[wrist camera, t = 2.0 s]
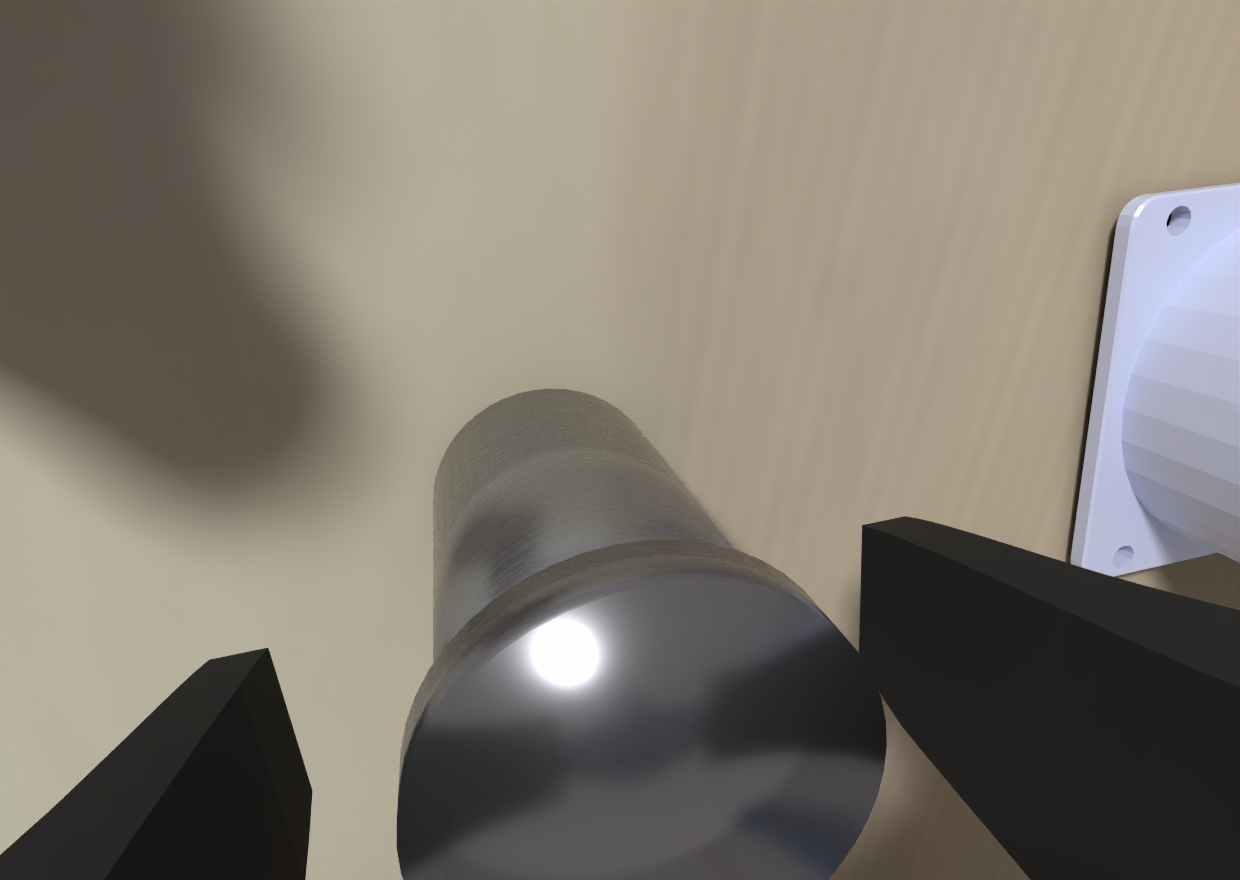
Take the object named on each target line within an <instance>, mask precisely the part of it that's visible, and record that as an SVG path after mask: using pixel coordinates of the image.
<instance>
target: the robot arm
mask: <svg viewBox="0 0 1240 880" xmlns="http://www.w3.org/2000/svg"><path fill="white" fill-rule="evenodd" d="M1170 213H1171V216H1172V218H1171V221H1170V224H1169V226H1168V227H1167V220H1168V217H1169V214H1170ZM1214 553H1220V554H1222V555H1224V556H1227V557H1229V558H1231V559H1233V560H1235V561H1237V562H1239V563H1240V183H1232V184H1224V185H1216V186H1208V187H1200V188H1192V189H1184V190H1176V191H1168V192H1160V193H1152V194H1144V195H1141V196H1138V197H1135V198H1134V199H1132V200H1131V201H1130V202H1129V203H1128V204H1126V206H1125V207H1124V209H1123V210H1122V212H1121V213H1120V215H1119V218H1118V222H1117V225H1116V232H1115V239H1114V246H1113V254H1112V261H1111V268H1110V276H1109V283H1108V290H1107V297H1106V305H1105V312H1104V319H1103V326H1102V334H1101V341H1100V348H1099V356H1098V363H1097V370H1096V377H1095V385H1094V392H1093V399H1092V406H1091V414H1090V421H1089V428H1088V435H1087V443H1086V450H1085V457H1084V465H1083V472H1082V479H1081V486H1080V494H1079V501H1078V508H1077V515H1076V523H1075V530H1074V537H1073V545H1072V552H1071V564H1069V563H1066V562H1063V561H1059V560H1056V559H1053V558H1050V557H1046V556H1043V555H1040V554H1037V553H1034V552H1030V551H1027V550H1024V549H1021V548H1018V547H1014V546H1011V545H1008V544H1005V543H1002V542H998V541H995V540H992V539H989V538H986V537H982V536H979V535H976V534H973V533H969V532H966V531H962V530H959V529H956V528H952V527H949V526H945V525H941V524H938V523H934V522H930V521H926V520H921V519H916V518H911V517H906V516H905V517H900V518H895V519H890V520H885V521H881V522H876V523H871V524H866V525H862V558H861V598H860V638H859V654H860V655H861V657H862V659H863V660H864V662H865V664H866V665H867V667H868V669H869V670H870V672H871V674H872V675H873V678H874V681H875V683H876V686H877V689H878V690H879V692H880V694H881V695H882V697H883V698H884V700H885V701H886V703H887V704H888V706H889V707H890V709H891V710H892V712H893V713H894V715H895V716H896V718H897V719H898V721H899V722H900V724H901V725H902V727H903V728H904V729H905V730H906V732H907V733H908V734H909V735H910V737H911V738H912V739H913V740H914V742H915V743H916V744H917V745H918V746H919V748H920V749H921V750H922V751H923V752H924V754H925V755H926V756H927V757H928V758H929V760H930V761H931V762H932V763H933V764H934V766H935V767H936V768H937V769H938V770H939V772H940V773H941V774H942V775H943V776H944V778H945V779H946V780H947V781H948V782H949V784H950V785H951V786H952V787H953V788H954V790H955V791H956V792H957V793H958V794H959V795H960V797H961V798H962V799H963V800H964V801H965V803H966V804H967V805H968V806H969V807H970V808H971V810H972V811H973V812H974V813H975V814H976V815H977V817H978V818H979V819H980V820H981V821H982V823H983V824H984V825H985V826H986V827H987V829H988V830H989V831H990V832H991V833H992V834H993V836H994V837H995V838H996V839H997V840H998V842H999V843H1000V844H1001V845H1002V846H1003V847H1004V849H1005V850H1006V851H1007V852H1008V853H1009V855H1010V856H1011V857H1012V858H1013V859H1014V860H1015V862H1016V863H1017V864H1018V865H1019V866H1020V868H1021V869H1022V870H1023V871H1024V872H1025V873H1026V875H1027V876H1028V877H1029V878H1030V879H1031V880H1240V610H1236V609H1232V608H1228V607H1223V606H1219V605H1215V604H1211V603H1207V602H1203V601H1199V600H1196V599H1192V598H1188V597H1185V596H1181V595H1177V594H1173V593H1170V592H1166V591H1162V590H1159V589H1155V588H1151V587H1148V586H1144V585H1140V584H1136V583H1133V582H1129V581H1126V580H1123V579H1119V578H1116V577H1115V576H1119V575H1123V574H1128V573H1132V572H1136V571H1141V570H1145V569H1149V568H1154V567H1158V566H1162V565H1167V564H1171V563H1175V562H1180V561H1184V560H1188V559H1193V558H1197V557H1201V556H1206V555H1210V554H1214ZM311 802H312V788H311V785H310V782H309V778H308V775H307V772H306V769H305V765H304V762H303V759H302V756H301V753H300V749H299V746H298V743H297V740H296V736H295V733H294V730H293V727H292V723H291V720H290V717H289V714H288V710H287V707H286V704H285V701H284V697H283V694H282V691H281V688H280V684H279V681H278V678H277V675H276V671H275V668H274V665H273V662H272V658H271V655H270V652H269V649H268V648H264V649H260V650H255V651H250V652H245V653H240V654H235V655H230V656H226V657H221V658H216V659H211V660H209V661H207V662H206V663H205V664H204V665H203V666H201V667H200V668H199V669H198V670H197V671H195V672H194V673H193V674H192V675H191V676H190V677H189V678H188V679H187V680H186V681H185V682H183V683H182V684H181V685H180V686H179V687H178V688H177V689H176V690H175V691H174V692H173V693H172V694H171V695H170V696H169V697H168V698H167V699H166V700H165V701H163V702H162V703H161V704H160V705H159V706H158V707H157V708H156V709H155V710H154V711H153V712H152V713H151V714H150V715H149V716H148V717H147V718H146V719H145V720H144V721H143V722H142V723H141V724H140V725H139V726H138V727H137V728H136V729H135V730H134V731H133V732H132V733H131V734H130V735H129V736H128V737H126V738H125V739H124V740H123V741H122V742H121V743H120V744H119V745H118V746H117V747H116V748H115V749H114V750H113V751H112V752H111V753H110V754H109V755H108V756H107V757H106V758H105V759H104V760H103V761H101V762H100V763H99V764H98V765H97V766H96V767H95V768H94V769H93V770H92V771H91V772H90V773H89V774H88V775H87V776H86V777H85V778H84V779H83V780H82V781H81V782H80V783H79V784H77V785H76V786H75V787H74V788H73V789H72V790H71V791H70V792H69V793H68V794H67V795H66V796H65V797H64V798H63V799H62V800H61V801H60V802H59V803H58V804H56V805H55V806H54V807H53V808H52V809H51V810H50V811H49V812H48V813H47V814H45V815H44V816H43V817H42V818H41V819H40V820H39V821H38V822H37V823H35V824H34V825H33V826H32V827H31V828H30V829H29V830H28V831H27V832H25V833H24V834H23V835H22V836H21V837H20V838H19V839H18V840H16V841H15V842H14V843H13V844H12V845H11V846H10V847H9V848H8V849H6V850H5V851H4V852H3V853H2V854H1V855H0V880H305V876H306V865H307V855H308V844H309V831H310V817H311Z"/></svg>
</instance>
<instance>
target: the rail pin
mask: <svg viewBox="0 0 1240 880" xmlns="http://www.w3.org/2000/svg"><path fill="white" fill-rule="evenodd" d="M886 747H887V743H886V720H885V715H884V710H883V705H882V700H881V696H880V694H879V691H878V689H877V686H876V683H875V681H874V678H873V675H872V674H871V672H870V670H869V669H868V667H867V665H866V664H865V662H864V660H863V659H862V657H861V655H860V654H859V653H858V651H857V650H856V649H855V648H854V647H853V646H852V644H851V643H850V642H849V641H848V640H847V639H846V637H845V636H844V635H843V634H842V633H841V632H840V631H839V630H838V628H837V627H836V626H835V625H834V624H833V623H832V622H831V620H830V619H829V618H828V617H827V616H826V615H825V614H824V613H823V611H822V610H821V609H820V608H819V607H818V606H817V605H816V603H815V602H814V601H813V600H812V599H811V598H810V597H809V596H808V594H807V593H806V592H805V591H804V590H803V589H802V588H801V587H800V586H798V585H797V584H796V583H795V582H794V581H792V580H791V579H790V578H789V577H788V576H786V575H785V574H784V573H782V572H781V571H779V570H777V569H776V568H774V567H772V566H771V565H769V564H767V563H765V562H764V561H762V560H760V559H757V558H755V557H752V556H750V555H748V554H745V553H743V552H740V551H738V550H734V548H733V547H732V546H731V545H730V543H729V542H728V541H727V540H726V538H725V537H724V536H723V535H722V533H721V532H720V531H719V530H718V528H717V527H716V526H715V525H714V523H713V522H712V521H711V520H710V518H709V517H708V516H707V514H706V513H705V512H704V511H703V509H702V508H701V507H700V506H699V504H698V503H697V502H696V501H695V499H694V498H693V497H692V496H691V494H690V493H689V492H688V491H687V489H686V488H685V487H684V486H683V484H682V483H681V482H680V481H679V479H678V478H677V477H676V476H675V474H674V473H673V472H672V470H671V469H670V468H669V467H668V465H667V464H666V463H665V462H664V460H663V459H662V458H661V457H660V455H659V454H658V453H657V452H656V450H655V449H654V448H653V447H652V445H651V444H650V443H649V442H648V440H647V439H646V438H645V437H644V435H643V434H642V433H641V431H640V430H639V429H638V428H637V427H636V426H635V424H634V423H633V422H632V421H631V420H630V419H629V418H628V417H627V416H626V415H625V414H623V413H622V412H621V411H620V410H619V409H617V408H615V407H614V406H612V405H611V404H609V403H608V402H606V401H603V400H601V399H599V398H597V397H595V396H592V395H589V394H585V393H582V392H578V391H572V390H566V389H542V390H533V391H528V392H524V393H519V394H516V395H514V396H511V397H508V398H505V399H503V400H501V401H499V402H497V403H495V404H493V405H491V406H489V407H488V408H486V409H485V410H483V411H482V412H480V413H479V414H477V415H476V416H475V417H474V418H473V419H472V420H471V421H469V422H468V423H467V424H466V425H465V426H464V427H463V428H462V430H461V431H460V432H459V433H458V434H457V435H456V436H455V438H454V439H453V441H452V442H451V444H450V445H449V447H448V448H447V450H446V452H445V454H444V456H443V458H442V461H441V463H440V466H439V469H438V472H437V475H436V480H435V486H434V502H433V665H432V667H431V668H430V669H429V671H428V673H427V675H426V677H425V679H424V681H423V683H422V684H421V686H420V688H419V690H418V692H417V694H416V696H415V698H414V701H413V704H412V707H411V710H410V713H409V716H408V719H407V722H406V725H405V731H404V736H403V742H402V748H401V758H400V776H399V793H398V811H397V852H398V857H399V863H400V869H401V874H402V877H403V880H828V878H829V877H830V876H831V875H832V874H833V872H834V871H835V870H836V869H837V868H838V867H839V865H840V864H841V863H842V861H843V860H844V858H845V857H846V855H847V854H848V852H849V851H850V849H851V848H852V847H853V845H854V844H855V842H856V840H857V838H858V837H859V835H860V833H861V831H862V829H863V827H864V825H865V824H866V822H867V820H868V818H869V815H870V813H871V810H872V808H873V805H874V803H875V800H876V797H877V795H878V791H879V787H880V783H881V779H882V776H883V772H884V764H885V756H886Z"/></svg>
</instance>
